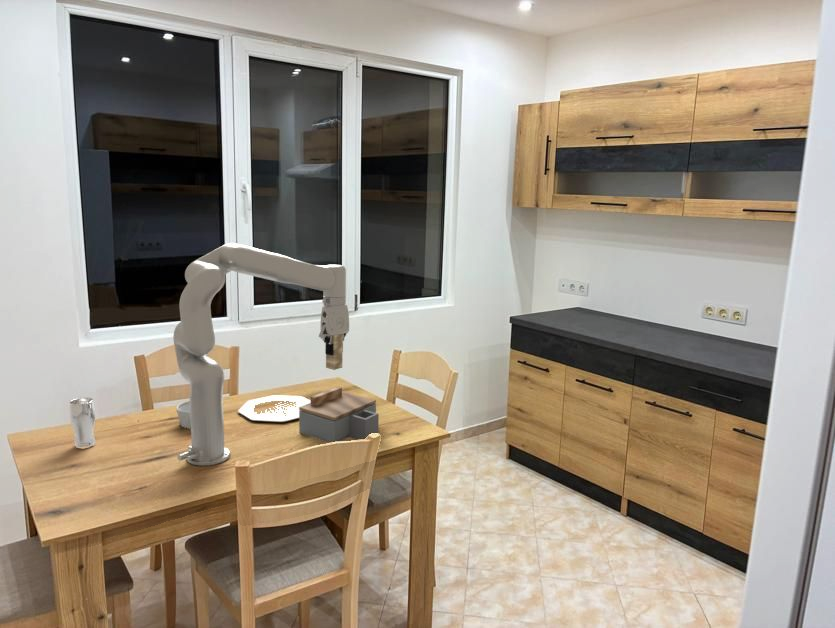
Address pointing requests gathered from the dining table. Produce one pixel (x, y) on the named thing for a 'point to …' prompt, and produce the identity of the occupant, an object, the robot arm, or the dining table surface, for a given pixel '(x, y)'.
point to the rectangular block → (335, 353)
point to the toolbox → (340, 425)
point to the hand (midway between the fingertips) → (334, 352)
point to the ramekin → (184, 414)
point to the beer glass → (83, 421)
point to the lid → (336, 404)
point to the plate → (290, 414)
